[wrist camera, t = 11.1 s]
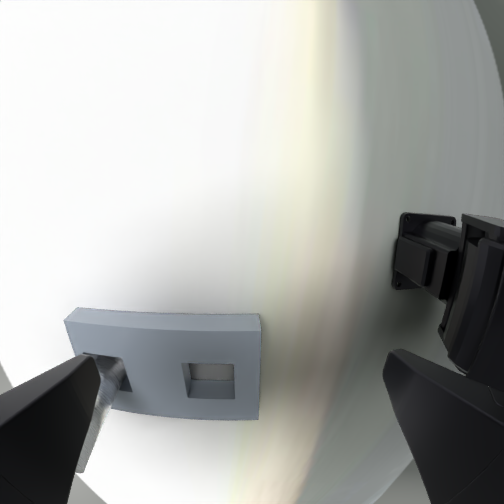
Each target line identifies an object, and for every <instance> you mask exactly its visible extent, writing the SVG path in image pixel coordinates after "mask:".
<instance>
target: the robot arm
mask: <svg viewBox="0 0 504 504" xmlns="http://www.w3.org/2000/svg"><path fill="white" fill-rule="evenodd" d="M407 216H408V220H407V221H406V217H407ZM451 221H452V222H451ZM461 221H462V228H459V227H456V219H455V217H452V216H444V215H433V214H422V213H410V212H405V213H403V214H402V216H401V223H400V233H399V239H398V245H397V252H396V259H395V266H394V268H395V269H394V276H393V281H392V286H393V287H394V288H395V289H396V290H403V289H414V288H423V289H425V290H426V291H428V292H429V293H431V294H432V295H433V296H435V297H436V298H438V299H439V300H440V301H442V302H443V303H445V304H446V309H445V312H444V316H443V319H442V322H441V324H440V325H439V328H438V333H439V335H440V337H441V339H442V341H443V343H444V345H445V347H446V349H447V351H448V358H449V360H450V361H451V362H452V363H453V364H454V365H455V366H456V367H457V368H458V370H459V371H461V372H462V373H464V374H466V376H463V375H461V374H458V373H456V372H454V371H451V370H449V369H447V368H444V367H442V366H440V365H437V364H435V363H433V362H431V361H428V360H426V359H424V358H421V357H419V356H417V355H415V354H412V353H410V352H408V351H406V350H404V349H397V350H392V351H390V352H389V354H388V357H387V360H386V363H385V366H384V369H383V380H384V382H385V385H386V388H387V391H388V394H389V397H390V400H391V403H392V407H393V410H394V412H395V415H396V418H397V420H398V422H399V425H400V427H401V429H402V431H403V434H404V436H405V438H406V441H407V443H408V445H409V448H410V450H411V453H412V455H413V457H414V460H415V462H416V465H417V467H418V470H419V472H420V475H421V478H422V480H423V483H424V486H425V488H426V491H427V494H428V496H429V499H430V502H431V504H504V220H502V219H498V218H493V217H486V216H479V215H471V214H463V213H462V219H461ZM398 282H399V284H398V285H397V283H398ZM100 384H101V377H100V374H99V371H98V368H97V365H96V363H95V360H94V358H93V357H92V356H90V355H85V354H80V355H78V356H76V357H74V358H72V359H70V360H68V361H66V362H64V363H62V364H60V365H58V366H56V367H54V368H52V369H50V370H48V371H46V372H44V373H43V374H41V375H39V376H37V377H35V378H33V379H31V380H29V381H27V382H25V383H23V384H21V385H19V386H17V387H15V388H13V389H11V390H9V391H7V392H5V393H3V394H1V395H0V504H67V502H68V498H69V494H70V490H71V486H72V482H73V478H74V475H75V471H76V468H77V464H78V461H79V457H80V454H81V451H82V448H83V445H84V441H85V438H86V435H87V432H88V430H89V426H90V423H91V420H92V416H93V412H94V408H95V403H96V399H97V395H98V391H99V388H100ZM488 386H489V387H488Z"/></svg>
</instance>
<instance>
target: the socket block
mask: <svg viewBox="0 0 504 504" xmlns="http://www.w3.org/2000/svg"><path fill="white" fill-rule="evenodd" d="M64 323H65V326H66V329H67V333H68V336H69V339H70V342H71V345H72V348H73V350H74V353H75V356H78V355H80V354H85V355H90V356H92V357H93V358H94V360H96V359H97V357H98V356H99V355H105V356H112V357H120V358H122V360H123V363H124V366H125V369H126V373H127V374H126V376H125V378H124V380H123V382H122V384H121V386H120V388H119V391H118V393H117V395H116V397H115V399H114V401H113V404H112V406H111V409H116V410H121V411H127V412H133V413H139V414H146V415H154V416H162V417H172V418H184V419H199V420H258V418H259V391H260V361H261V325H260V318H259V314H174V313H148V312H130V311H114V310H101V309H89V308H79V307H77V308H76V309H75V310H74V311H73V312H72V313H71V314H70V315H69V316H68V317H67V318H66V319H65V320H64ZM189 363H195V364H234V380H193V379H191V375H190V368H189Z"/></svg>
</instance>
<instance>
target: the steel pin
mask: <svg viewBox="0 0 504 504" xmlns="http://www.w3.org/2000/svg"><path fill="white" fill-rule="evenodd" d="M95 363H96V365H97V368H98V371H99V374H100V377H101V384H100V388H99V391H98V395H97V399H96V403H95V408H94V412H93V416H92V420H91V423H90V426H89V430H88V432H87V435H86V438H85V441H84V445H83V448H82V451H81V454H80V457H79V461H78V464H77V468H76V471H75V472H76V473H83V472H84V470H85V467H86V465H87V462H88V460H89V457H90V455H91V452H92V450H93V447H94V445H95V442H96V440H97V438H98V435H99V433H100V431H101V428H102V426H103V424H104V421H105V419H106V417H107V415H108V412H109V410H110V408H111V406H112V404H113V401H114V399H115V397H116V395H117V393H118V391H119V388H120V386H121V384H122V382H123V380H124V378H125V376H126V374H127V373H126V369H125V366H124V363H123V360H122V358H120V357H112V356H105V355H99V356H98V357H97V359H96V360H95Z"/></svg>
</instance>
